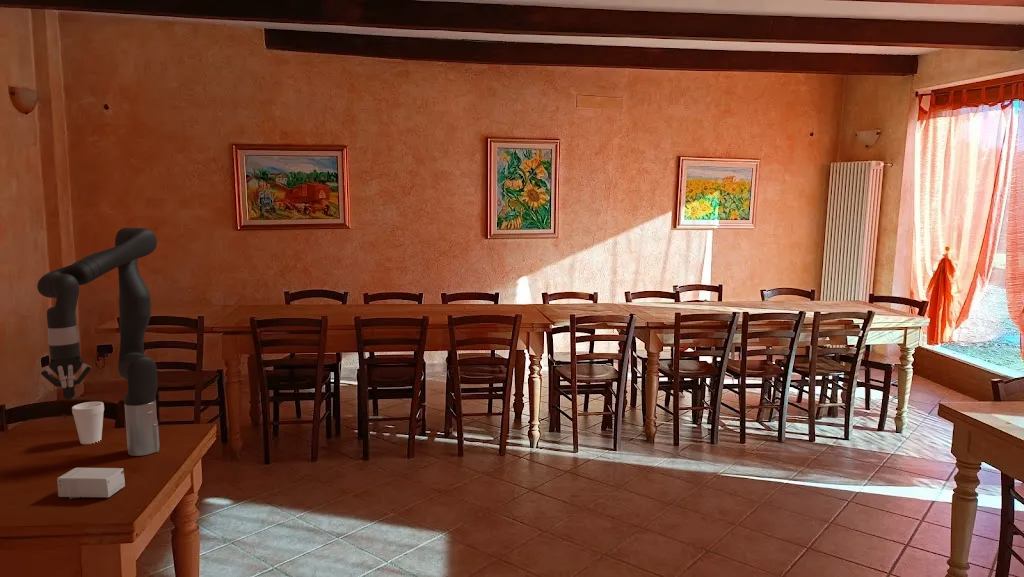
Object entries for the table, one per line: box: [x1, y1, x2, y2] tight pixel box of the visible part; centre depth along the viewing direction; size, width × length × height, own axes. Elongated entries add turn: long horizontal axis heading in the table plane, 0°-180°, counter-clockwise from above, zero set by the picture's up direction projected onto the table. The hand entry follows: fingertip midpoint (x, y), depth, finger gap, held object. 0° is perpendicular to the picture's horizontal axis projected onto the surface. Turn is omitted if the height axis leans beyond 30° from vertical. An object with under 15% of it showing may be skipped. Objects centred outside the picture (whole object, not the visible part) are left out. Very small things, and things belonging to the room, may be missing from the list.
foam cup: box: [71, 401, 105, 445], centre depth 239 cm, size 10×9×13 cm
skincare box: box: [56, 467, 126, 498], centre depth 196 cm, size 8×6×15 cm
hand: (69, 398), depth 201 cm, fingers closed
